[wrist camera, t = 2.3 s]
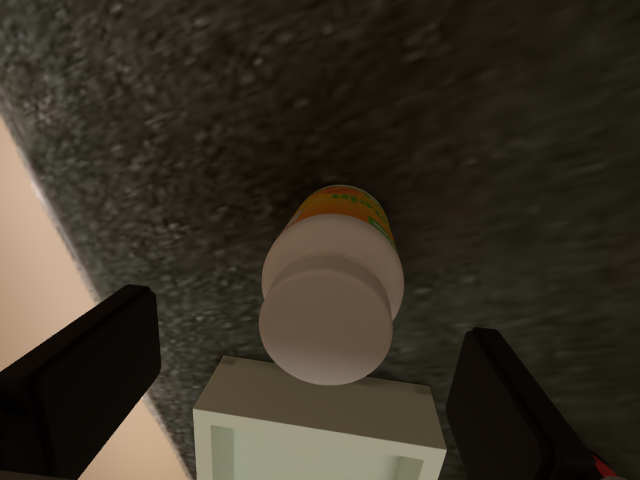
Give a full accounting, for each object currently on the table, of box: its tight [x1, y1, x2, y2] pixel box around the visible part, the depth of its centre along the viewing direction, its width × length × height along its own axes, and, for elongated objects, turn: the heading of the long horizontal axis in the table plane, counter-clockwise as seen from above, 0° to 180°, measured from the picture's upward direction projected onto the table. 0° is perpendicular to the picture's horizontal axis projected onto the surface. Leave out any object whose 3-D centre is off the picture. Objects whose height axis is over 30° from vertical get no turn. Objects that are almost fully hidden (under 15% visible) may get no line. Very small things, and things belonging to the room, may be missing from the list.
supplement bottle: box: [259, 185, 404, 385], centre depth 14 cm, size 5×5×10 cm
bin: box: [193, 355, 447, 480], centre depth 22 cm, size 14×14×4 cm
